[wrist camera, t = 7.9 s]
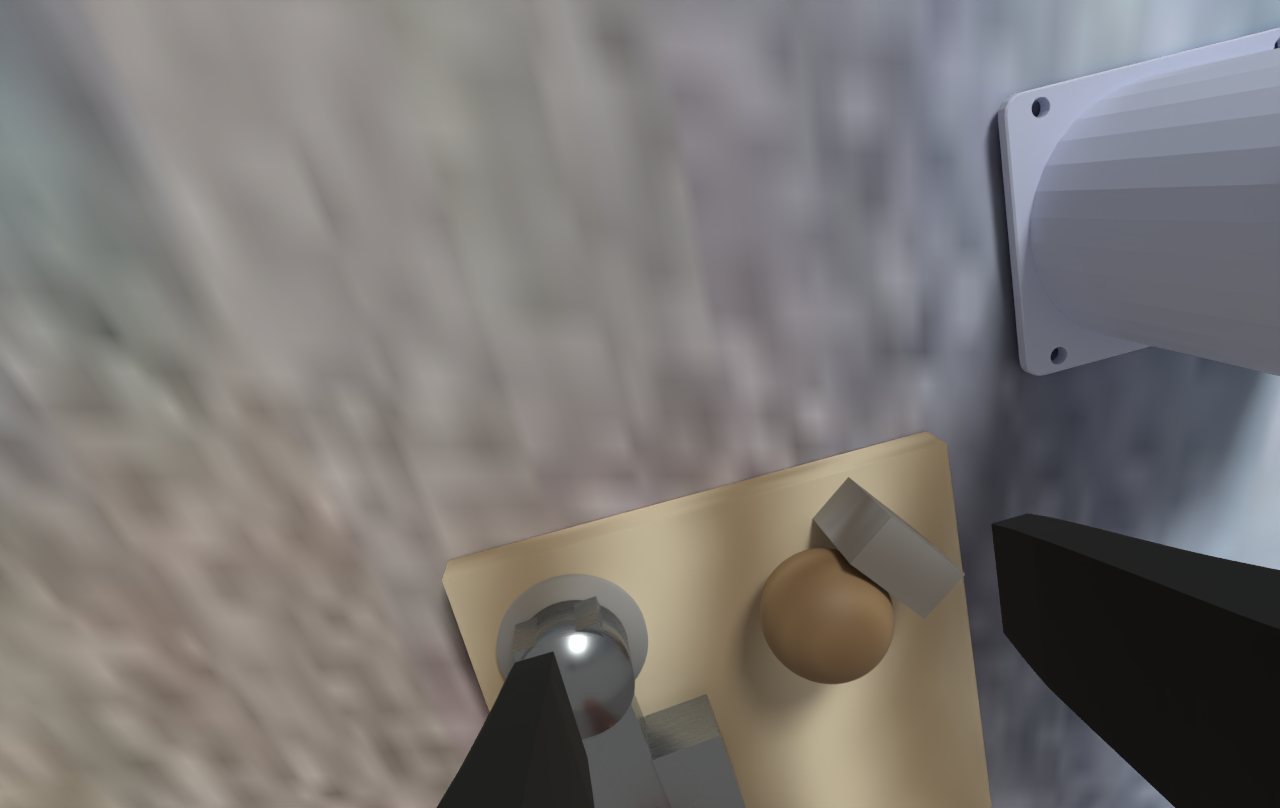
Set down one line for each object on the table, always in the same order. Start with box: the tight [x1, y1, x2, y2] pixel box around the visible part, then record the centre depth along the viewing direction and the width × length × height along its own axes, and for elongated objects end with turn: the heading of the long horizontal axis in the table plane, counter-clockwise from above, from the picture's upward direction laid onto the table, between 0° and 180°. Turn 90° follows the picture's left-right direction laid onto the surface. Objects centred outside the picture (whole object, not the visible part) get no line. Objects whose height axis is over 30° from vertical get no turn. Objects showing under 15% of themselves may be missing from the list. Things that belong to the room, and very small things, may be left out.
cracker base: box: [442, 431, 992, 808], centre depth 22 cm, size 15×15×5 cm
